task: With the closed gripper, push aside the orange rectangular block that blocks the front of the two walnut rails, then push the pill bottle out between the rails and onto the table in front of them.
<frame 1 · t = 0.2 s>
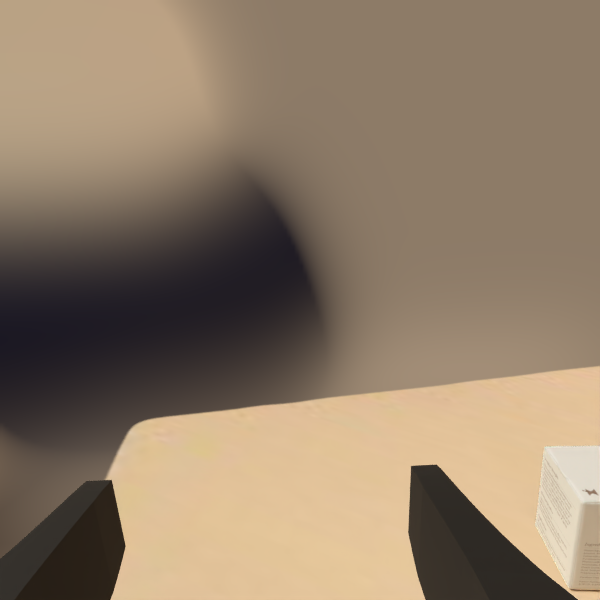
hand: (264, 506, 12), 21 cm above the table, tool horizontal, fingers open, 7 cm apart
product box: (591, 558, 35), on the table
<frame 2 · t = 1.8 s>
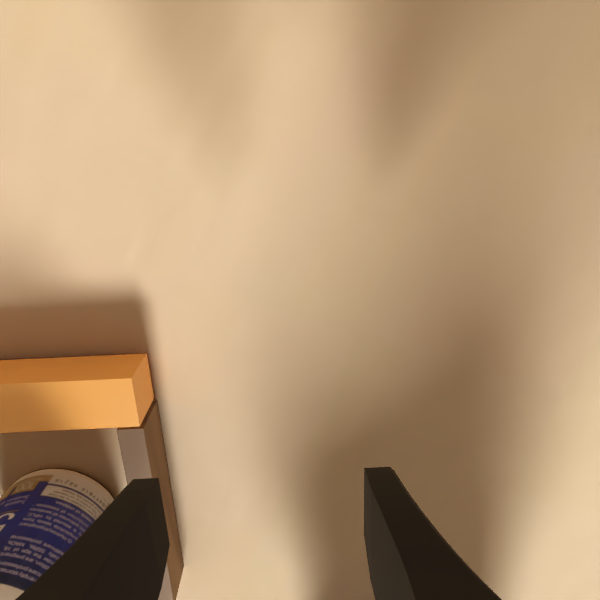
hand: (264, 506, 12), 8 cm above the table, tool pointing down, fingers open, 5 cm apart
orange rectangular block: (11, 394, 19), point 1 cm above the table, slide at 0.0 cm
pill bottle: (65, 509, 22), on the table
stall: (61, 504, 22), on the table
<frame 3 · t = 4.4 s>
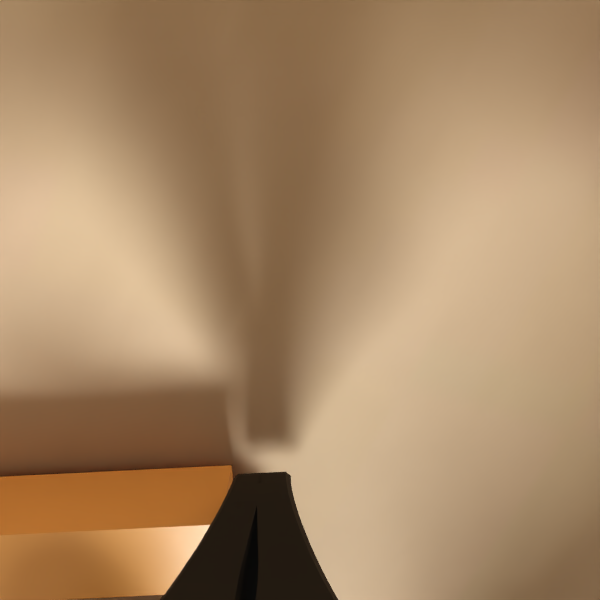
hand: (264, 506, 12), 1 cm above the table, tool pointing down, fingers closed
orange rectangular block: (28, 535, 12), point 1 cm above the table, slide at 0.6 cm, touching gripper
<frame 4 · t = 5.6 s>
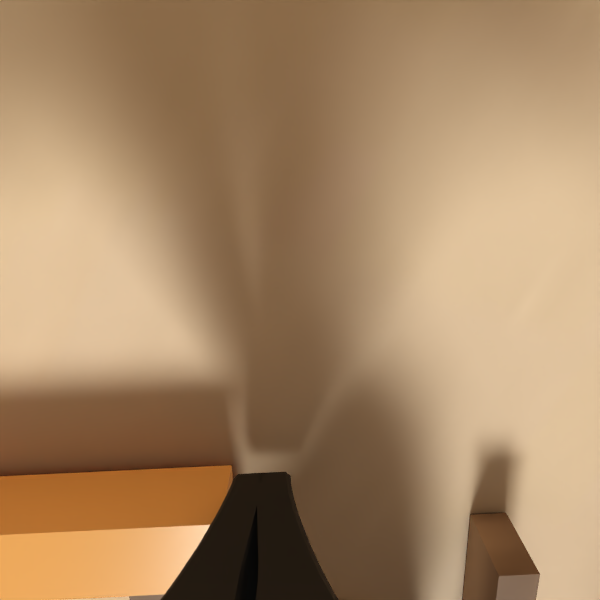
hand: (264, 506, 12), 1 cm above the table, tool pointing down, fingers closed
orange rectangular block: (28, 534, 12), point 1 cm above the table, slide at 7.5 cm, touching gripper
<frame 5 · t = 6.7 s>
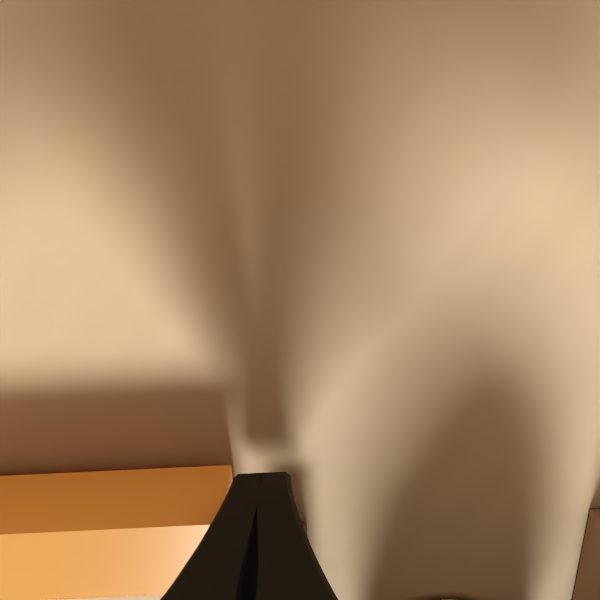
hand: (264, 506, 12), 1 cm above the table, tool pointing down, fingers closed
orange rectangular block: (27, 534, 12), point 1 cm above the table, slide at 10.9 cm, touching gripper
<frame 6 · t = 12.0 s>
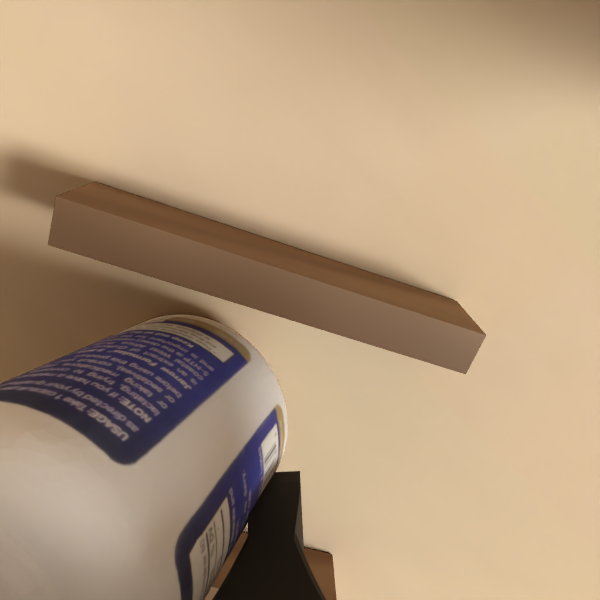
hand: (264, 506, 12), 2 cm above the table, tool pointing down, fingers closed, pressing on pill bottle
pill bottle: (199, 407, 13), on the table, touching gripper
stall: (246, 418, 14), on the table
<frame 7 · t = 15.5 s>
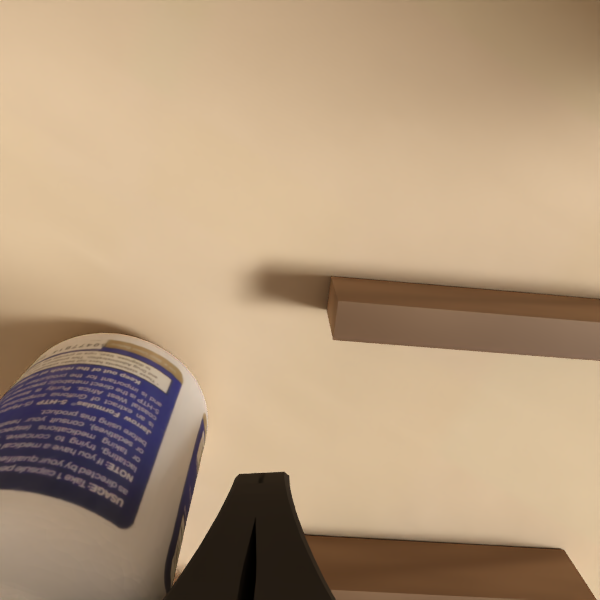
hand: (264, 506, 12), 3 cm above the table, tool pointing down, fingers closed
pill bottle: (122, 404, 15), on the table
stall: (474, 443, 15), on the table
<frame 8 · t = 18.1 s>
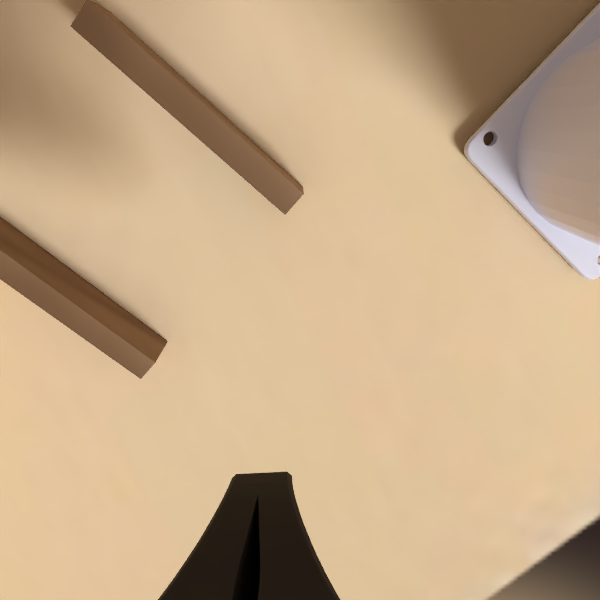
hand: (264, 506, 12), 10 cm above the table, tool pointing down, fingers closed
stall: (146, 214, 20), on the table
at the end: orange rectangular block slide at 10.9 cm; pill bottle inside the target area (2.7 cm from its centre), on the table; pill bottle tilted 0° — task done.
